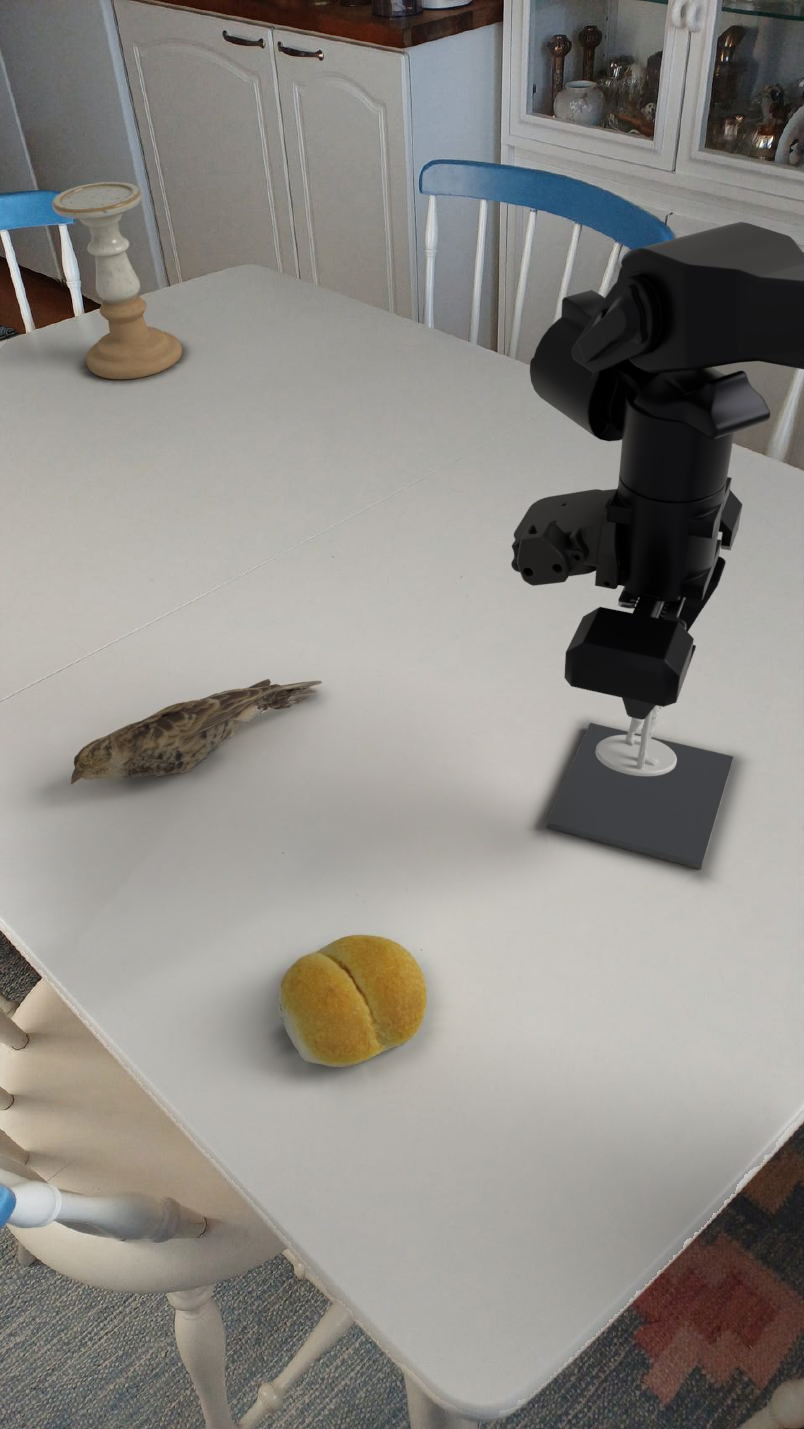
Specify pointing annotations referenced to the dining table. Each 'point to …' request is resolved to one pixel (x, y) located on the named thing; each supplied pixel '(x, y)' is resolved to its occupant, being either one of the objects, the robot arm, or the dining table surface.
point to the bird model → (181, 733)
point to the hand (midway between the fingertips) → (646, 690)
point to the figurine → (637, 749)
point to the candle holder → (117, 285)
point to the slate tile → (643, 801)
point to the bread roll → (352, 1000)
